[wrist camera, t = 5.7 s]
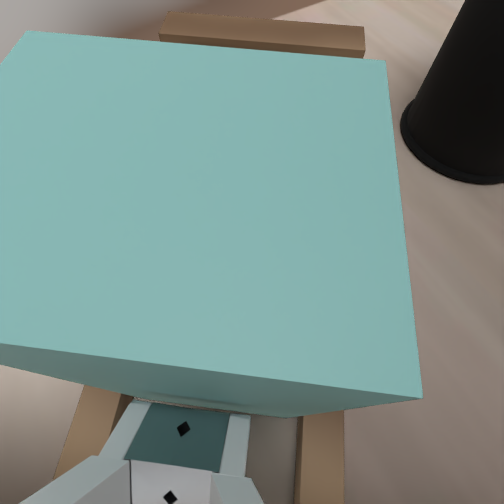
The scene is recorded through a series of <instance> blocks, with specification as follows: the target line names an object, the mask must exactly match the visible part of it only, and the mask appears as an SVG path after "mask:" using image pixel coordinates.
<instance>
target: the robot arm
mask: <svg viewBox="0 0 504 504" xmlns="http://www.w3.org/2000/svg"><path fill="white" fill-rule="evenodd" d="M250 422H251V416H250V415H243V414H235V413H231V414H230V413H225V412H217V411H209V410H201V409H193V408H192V409H191V408H185V407H179V406H173V405H166V404H160V403H151V402H145V401H139V400H133V401H132V402H131V403H130V404H129V405H128V407H127V408H126V410H125V412H124V413H123V415H122V417H121V418H120V420H119V422H118V423H117V425H116V427H115V428H114V430H113V432H112V433H111V435H110V437H109V439H108V440H107V442H106V444H105V445H104V447H103V449H102V450H101V452H100V454H99V455H98V456H94V455H91V456H90V457H88V458H87V459H85V460H84V461H82V462H81V463H79V464H78V465H76V466H75V467H73V468H72V469H70V470H69V471H67V472H66V473H64V474H63V475H61V476H60V477H58V478H57V479H55V480H54V481H52V482H51V483H49V484H48V485H46V486H45V487H43V488H42V489H40V490H39V491H37V492H36V493H34V494H33V495H31V496H30V497H28V498H27V499H25V500H24V501H22V502H20V503H19V504H264V502H263V500H262V498H261V496H260V494H259V492H258V490H257V488H256V486H255V484H254V482H253V481H252V479H251V478H247V477H245V470H246V461H247V451H248V441H249V432H250Z"/></svg>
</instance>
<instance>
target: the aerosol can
mask: <svg viewBox="0 0 504 504" xmlns="http://www.w3.org/2000/svg"><path fill="white" fill-rule="evenodd" d="M401 131H402V134H403V137H404V140H405V141H406V143H407V145H408V146H409V148H410V149H411V150H412V151H413V153H414V154H415V155H416V156H417V157H418V158H419V159H420V160H422V161H423V162H424V163H425V164H427V165H428V166H429V167H431V168H433V169H435V170H436V171H438V172H440V173H442V174H444V175H447V176H449V177H452V178H454V179H458V180H462V181H466V182H472V183H480V184H489V183H499V182H504V0H465V2H464V4H463V6H462V8H461V10H460V12H459V14H458V15H457V17H456V19H455V21H454V23H453V25H452V27H451V29H450V31H449V33H448V35H447V37H446V39H445V41H444V43H443V45H442V47H441V49H440V51H439V53H438V54H437V56H436V58H435V60H434V62H433V64H432V66H431V68H430V70H429V72H428V74H427V76H426V78H425V80H424V82H423V84H422V86H421V88H420V90H419V91H418V93H417V95H416V97H415V99H414V100H412V101H411V102H410V103H409V104H408V105H407V107H406V108H405V110H404V112H403V115H402V119H401Z"/></svg>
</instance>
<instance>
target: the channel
mask: <svg viewBox="0 0 504 504" xmlns="http://www.w3.org/2000/svg"><path fill="white" fill-rule="evenodd" d="M159 38H160V42H169V43H181V44H193V45H205V46H217V47H229V48H241V49H253V50H265V51H277V52H289V53H300V54H312V55H324V56H336V57H348V58H360V59H363V57H364V54H365V36H364V27H360V26H347V25H335V24H322V23H310V22H297V21H284V20H272V19H259V18H246V17H234V16H221V15H209V14H196V13H184V12H171V11H168V13H167V15H166V18H165V20H164V22H163V24H162V26H161V29H160V31H159ZM132 399H133V396H130V395H126V394H122V393H117V392H113V391H109V390H105V389H101V388H96V387H92V386H88V385H84V388H83V391H82V394H81V397H80V400H79V403H78V406H77V409H76V412H75V415H74V418H73V421H72V424H71V427H70V430H69V433H68V436H67V439H66V442H65V445H64V447H63V450H62V453H61V456H60V459H59V462H58V465H57V468H56V471H55V474H54V477H53V480H52V481H54V480H55V479H57V478H58V477H60V476H61V475H63V474H64V473H66V472H67V471H69V470H70V469H72V468H73V467H75V466H76V465H78V464H79V463H81V462H82V461H84V460H85V459H87V458H88V457H90V456H91V455H94V456H98V455H99V454H100V452H101V450H102V449H103V447H104V445H105V444H106V442H107V440H108V439H109V437H110V435H111V433H112V432H113V430H114V428H115V427H116V425H117V423H118V422H119V420H120V418H121V417H122V415H123V413H124V412H125V410H126V408H127V407H128V405H129V404H130V403H131V402H132ZM294 504H344V410H339V411H333V412H326V413H319V414H312V415H305V416H298V429H297V449H296V469H295V489H294Z"/></svg>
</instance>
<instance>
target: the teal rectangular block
mask: <svg viewBox="0 0 504 504" xmlns="http://www.w3.org/2000/svg"><path fill="white" fill-rule="evenodd" d="M0 365H5V366H9V367H13V368H17V369H21V370H26V371H30V372H34V373H38V374H42V375H46V376H51V377H55V378H59V379H63V380H67V381H71V382H76V383H80V384H84V385H88V386H92V387H96V388H101V389H105V390H109V391H113V392H117V393H122V394H126V395H130V396H134V397H138V398H142V399H148V400H156V401H163V402H170V403H178V404H185V405H192V406H200V407H207V408H214V409H222V410H229V411H236V412H244V413H251V414H258V415H266V416H273V417H280V418H291V417H298V416H305V415H312V414H319V413H326V412H333V411H339V410H346V409H353V408H360V407H367V406H374V405H381V404H388V403H395V402H402V401H409V400H415V399H422V398H423V392H422V383H421V374H420V365H419V356H418V347H417V338H416V329H415V320H414V312H413V303H412V294H411V285H410V276H409V267H408V258H407V249H406V240H405V231H404V222H403V213H402V204H401V195H400V186H399V177H398V168H397V160H396V151H395V142H394V133H393V124H392V115H391V106H390V97H389V88H388V79H387V70H386V61H384V60H372V59H360V58H348V57H336V56H324V55H312V54H300V53H289V52H277V51H265V50H253V49H241V48H229V47H217V46H205V45H193V44H181V43H169V42H157V41H145V40H134V39H122V38H121V39H120V38H110V37H97V36H86V35H73V34H62V33H50V32H38V31H26V32H25V34H24V35H23V36H22V37H21V39H20V40H19V41H18V42H17V44H16V45H15V46H14V48H13V49H12V50H11V51H10V53H9V54H8V55H7V57H6V58H5V59H4V60H3V62H2V63H1V64H0Z"/></svg>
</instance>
